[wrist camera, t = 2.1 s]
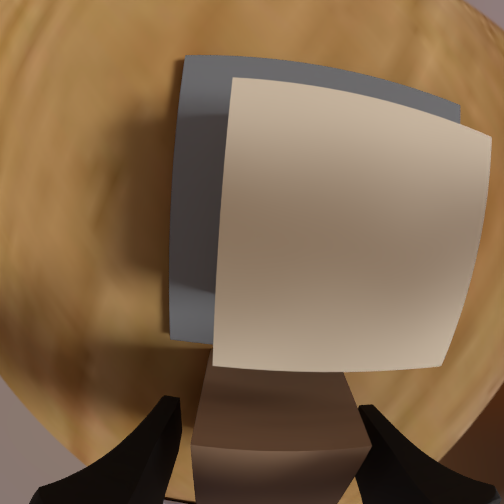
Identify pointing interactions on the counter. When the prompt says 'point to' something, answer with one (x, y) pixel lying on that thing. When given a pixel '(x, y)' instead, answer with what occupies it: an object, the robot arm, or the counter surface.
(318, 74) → the mat
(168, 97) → the counter surface
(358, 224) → the maple block
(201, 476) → the walnut block
